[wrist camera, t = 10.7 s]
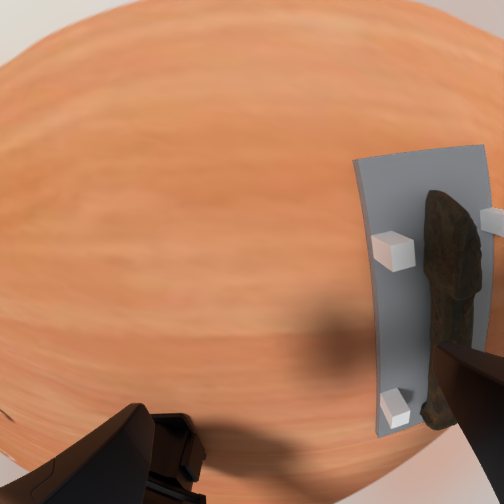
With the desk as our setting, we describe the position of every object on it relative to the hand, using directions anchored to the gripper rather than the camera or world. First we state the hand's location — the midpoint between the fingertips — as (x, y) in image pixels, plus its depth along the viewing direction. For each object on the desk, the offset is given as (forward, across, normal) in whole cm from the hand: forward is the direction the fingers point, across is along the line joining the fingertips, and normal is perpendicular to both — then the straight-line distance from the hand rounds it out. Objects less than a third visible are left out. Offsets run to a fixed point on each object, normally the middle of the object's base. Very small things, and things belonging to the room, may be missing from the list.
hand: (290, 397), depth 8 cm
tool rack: (+12, -12, +6) cm, 18 cm away
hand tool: (+11, -11, +6) cm, 17 cm away
